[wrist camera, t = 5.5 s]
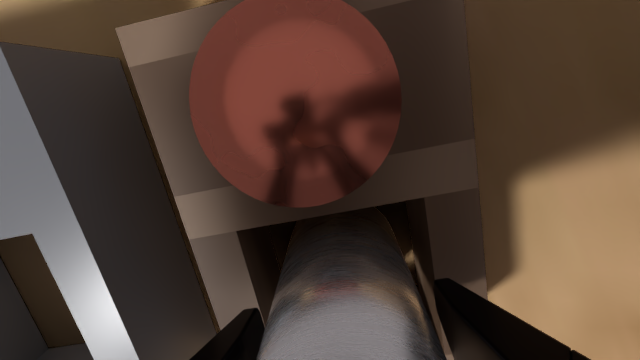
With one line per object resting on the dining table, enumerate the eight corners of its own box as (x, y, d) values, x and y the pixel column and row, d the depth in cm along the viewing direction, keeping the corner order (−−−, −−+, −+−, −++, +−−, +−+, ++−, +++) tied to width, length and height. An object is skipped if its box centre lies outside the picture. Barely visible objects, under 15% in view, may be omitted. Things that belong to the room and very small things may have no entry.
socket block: (421, -15, 10) (459, -59, 7) (457, 314, 13) (493, 379, 10) (174, 44, 10) (114, 28, 8) (266, 342, 14) (248, 410, 11)
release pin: (362, 16, 9) (383, -38, 5) (383, 149, 10) (414, 187, 6) (230, 46, 10) (159, 18, 6) (263, 173, 11) (222, 223, 7)
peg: (386, 188, 12) (493, 387, 4) (401, 283, 13) (509, 588, 5) (279, 207, 12) (182, 426, 4) (302, 298, 13) (259, 605, 5)
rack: (118, 58, 11) (-3, 41, 7) (221, 348, 14) (178, 449, 10) (-112, 113, 11) (-335, 126, 8) (35, 375, 15) (-72, 477, 11)
